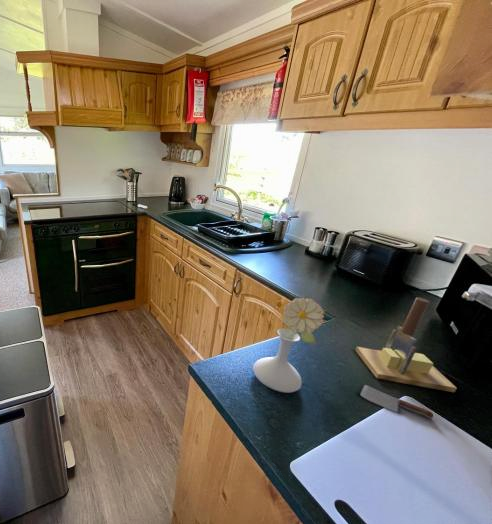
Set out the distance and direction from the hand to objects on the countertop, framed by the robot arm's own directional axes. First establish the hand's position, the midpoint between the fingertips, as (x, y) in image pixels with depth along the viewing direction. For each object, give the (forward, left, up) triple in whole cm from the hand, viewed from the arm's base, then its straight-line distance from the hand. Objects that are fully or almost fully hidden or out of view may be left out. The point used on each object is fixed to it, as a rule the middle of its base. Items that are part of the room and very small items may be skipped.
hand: (482, 305), depth 70 cm
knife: (+11, -5, -17) cm, 21 cm away
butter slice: (+12, -5, -22) cm, 25 cm away
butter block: (+7, -4, -22) cm, 23 cm away
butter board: (+8, -4, -23) cm, 25 cm away
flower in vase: (+47, 0, -23) cm, 53 cm away
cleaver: (+22, +8, -23) cm, 33 cm away
